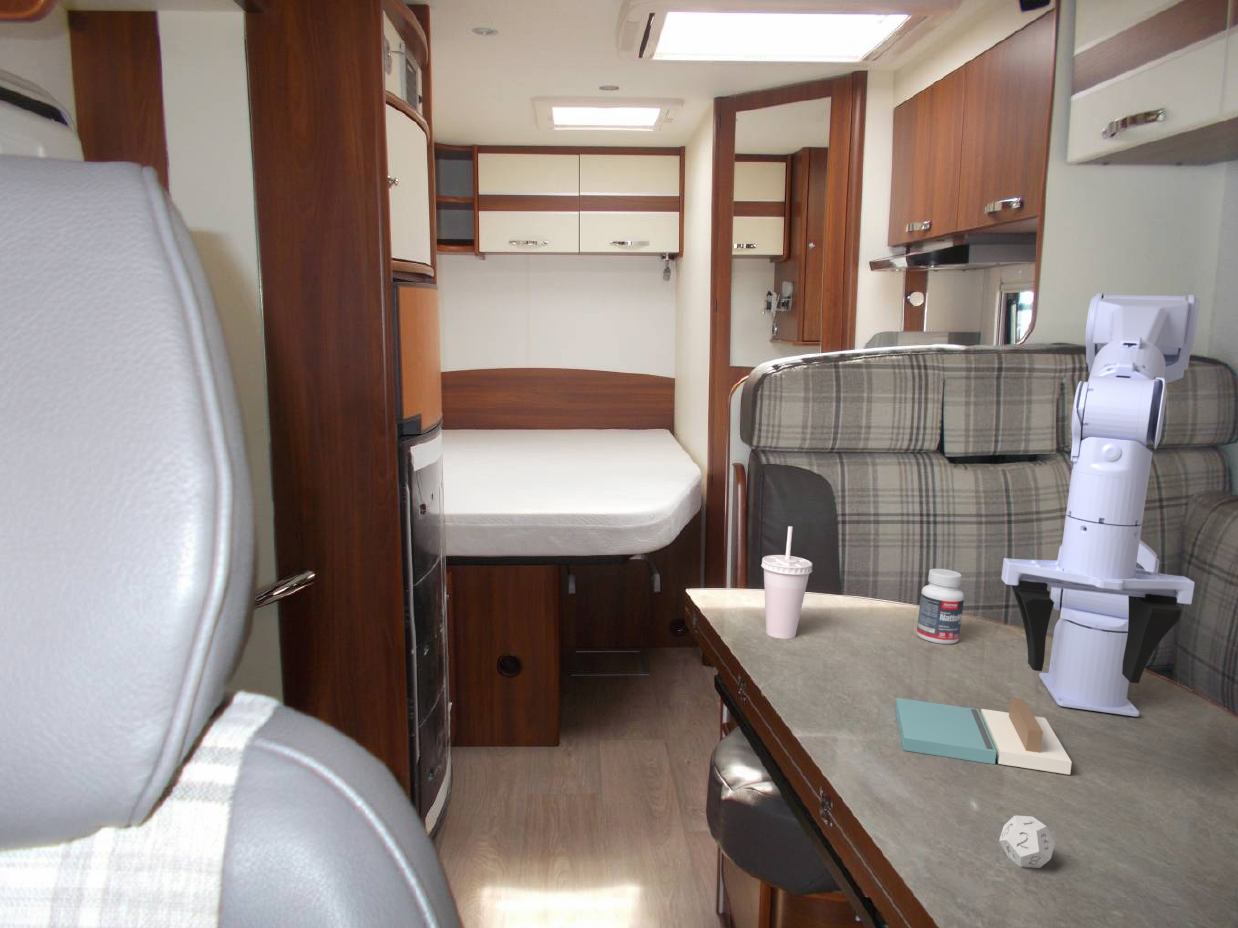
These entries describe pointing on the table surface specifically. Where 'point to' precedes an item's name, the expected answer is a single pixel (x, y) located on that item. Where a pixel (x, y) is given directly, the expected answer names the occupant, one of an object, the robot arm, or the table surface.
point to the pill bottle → (941, 607)
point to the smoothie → (784, 591)
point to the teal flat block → (944, 731)
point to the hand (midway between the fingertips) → (1082, 672)
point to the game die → (1027, 841)
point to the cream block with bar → (1025, 739)
